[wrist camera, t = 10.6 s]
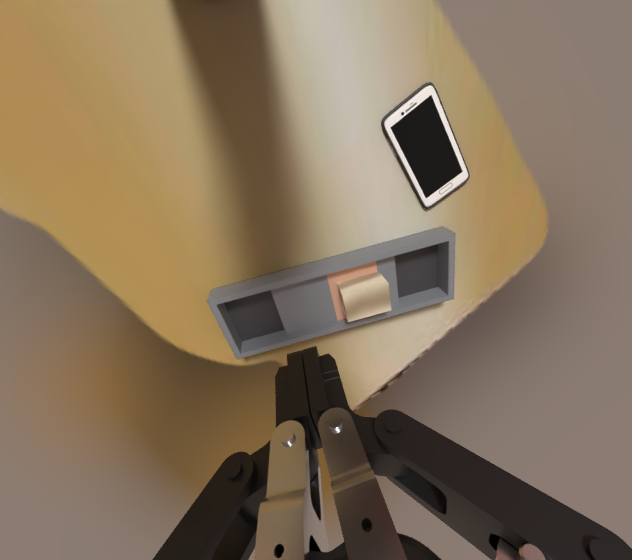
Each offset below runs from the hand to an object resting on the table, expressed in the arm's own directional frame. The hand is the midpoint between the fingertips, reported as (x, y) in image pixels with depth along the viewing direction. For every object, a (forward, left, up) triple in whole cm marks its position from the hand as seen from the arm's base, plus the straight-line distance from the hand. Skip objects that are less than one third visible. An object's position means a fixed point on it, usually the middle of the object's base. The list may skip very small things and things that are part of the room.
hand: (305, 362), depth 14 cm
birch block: (+14, +9, -27) cm, 32 cm away
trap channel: (+14, +5, -29) cm, 33 cm away
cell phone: (-4, +22, -30) cm, 37 cm away
